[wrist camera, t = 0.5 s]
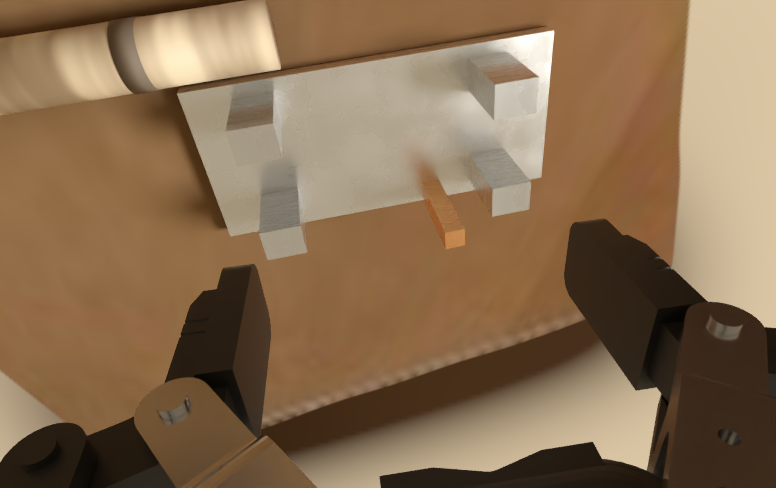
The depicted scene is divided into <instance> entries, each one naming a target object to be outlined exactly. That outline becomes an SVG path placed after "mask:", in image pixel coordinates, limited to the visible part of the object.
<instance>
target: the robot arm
mask: <svg viewBox="0 0 776 488" xmlns="http://www.w3.org/2000/svg"><path fill="white" fill-rule="evenodd" d="M564 278H565V285H566V289H567V291H568V294H569V296H570V297H571V299H572V300H573V301H574V303H575V304H576V306H577V307H578V309H579V310H580V311H581V313H582V314H583V316H584V317H585V319H586V320H587V321H588V323H589V324H590V326H591V327H592V329H593V330H594V331H595V333H596V334H597V336H598V337H599V338H600V340H601V341H602V343H603V344H604V346H605V347H606V348H607V350H608V351H609V353H610V354H611V356H612V357H613V358H614V360H615V361H616V363H617V364H618V366H619V367H620V368H621V370H622V371H623V372H624V374H625V376H626V377H627V378H628V380H629V381H630V383H631V384H632V385H633V387H634V388H635V390H642V389H649V388H655V387H657V388H658V390H659V391H660V392H661V396H660V400H659V403H658V408H657V414H656V420H655V426H654V431H653V438H652V444H651V450H650V456H649V462H648V467H647V471H646V470H644V469H641V468H638V467H636V466H633V465H629V464H626V463H623V462H617V461H613V460H607V459H602V458H601V456H600V455H599V453H598V451H597V449H596V447H595V445H594V444H593V442H589V443H583V444H576V445H570V446H564V447H558V448H552V449H545V450H541V451H538V452H536V453H534V454H532V455H529V456H527V457H525V458H523V459H520V460H518V461H516V462H514V463H512V464H509V465H507V466H505V467H503V468H500V469H498V470H495V471H492V472H482V471H469V470H457V469H444V468H428V469H421V470H415V471H409V472H403V473H396V474H390V475H384V476H380V484H381V488H776V328H767V327H764V326H763V325H762V323H761V322H760V321H759V320H758V319H757V318H756V317H754V316H753V315H752V314H750V313H748V312H746V311H745V310H742V309H740V308H738V307H735V306H732V305H729V304H724V303H718V302H708V301H706V300H705V299H704V298H703V297H702V296H701V295H700V294H699V293H698V292H697V291H696V290H695V289H694V288H692V286H691V285H689V284H688V283H687V282H686V281H685V280H684V279H683V278H682V277H681V276H680V275H679V274H678V273H677V272H676V271H674V270H673V269H672V270H671V268H670V266H669V265H668V264H667V263H666V262H665V261H664V260H663V259H660V256H659V255H657V254H656V253H655V252H654V251H653V250H652V249H651V248H650V247H649V246H648V245H647V244H645V243H643V242H641V241H639V240H637V239H635V238H633V237H631V236H629V235H622V234H621V233H620V232H619V231H618V230H617V229H616V228H615V227H614V226H613V225H612V224H611V223H610V222H609V221H607V220H606V219H597V220H589V221H582V222H575V223H573V224H572V226H571V229H570V234H569V242H568V249H567V257H566V264H565V272H564ZM270 340H271V326H270V318H269V313H268V309H267V305H266V301H265V297H264V293H263V290H262V286H261V282H260V278H259V274H258V271H257V268H256V266H255V265H254V264H250V265H243V266H235V267H227V268H223V269H222V272H221V276H220V279H219V283H218V287H217V289H215V290H208V291H203V292H202V293H201V294H200V296H199V297H198V298H197V299H196V300H195V301H194V302H193V303H192V304H191V305H190V308H189V311H188V314H187V317H186V320H185V324H184V326H183V329H182V332H181V337H180V338H179V341H178V344H177V347H176V350H175V353H174V356H173V359H172V362H171V365H170V368H169V371H168V374H167V377H166V380H165V383H164V384H162V385H160V386H158V387H156V388H155V389H153V390H152V391H151V392H150V393H148V394H147V395H146V396H145V397H144V398H143V399H142V401H141V402H140V403H139V405H138V407H137V409H136V411H135V414H134V417H132V418H130V419H128V420H126V421H124V422H121V423H119V424H116V425H114V426H111V427H109V428H106V429H104V430H101V431H98V432H96V433H93V434H91V435H88V436H87V435H86V434H85V432H84V430H83V429H82V428H81V427H80V426H78V425H76V424H73V423H57V424H53V425H50V426H46V427H44V428H41V429H39V430H37V431H35V432H33V433H32V434H30V435H28V436H26V437H25V438H24V439H22V440H21V441H19V442H18V443H17V444H16V445H15V446H14V447H13V448H12V449H11V450H10V451H9V452H8V453H7V454H6V455H5V456H4V458H3V459H2V461H1V462H0V488H317V487H316V486H315V485H314V484H313V483H312V482H311V481H310V480H309V479H308V478H307V477H306V476H305V474H304V473H303V472H302V471H301V470H300V469H299V468H298V467H297V466H296V465H295V464H294V463H293V462H292V461H291V460H290V459H289V458H288V457H287V455H286V454H285V453H284V452H283V451H282V450H281V449H280V448H279V447H278V446H277V445H276V444H275V443H274V442H273V441H272V440H271V439H270V438H269V437H267V436H266V435H262V436H260V433H261V423H262V414H263V405H264V396H265V386H266V377H267V368H268V358H269V349H270Z"/></svg>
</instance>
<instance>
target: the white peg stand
mask: <svg viewBox="0 0 776 488" xmlns="http://www.w3.org/2000/svg"><path fill="white" fill-rule="evenodd" d="M553 39H554V30H553V29H551V28H549V27H548V26H545V27H539V28H533V29H527V30H521V31H515V32H509V33H503V34H497V35H492V36H486V37H480V38H474V39H468V40H462V41H456V42H450V43H444V44H438V45H432V46H426V47H420V48H414V49H408V50H402V51H396V52H390V53H384V54H378V55H372V56H366V57H360V58H354V59H348V60H342V61H336V62H330V63H324V64H318V65H312V66H306V67H300V68H294V69H288V70H282V71H276V72H270V73H264V74H258V75H252V76H246V77H240V78H234V79H228V80H222V81H216V82H210V83H204V84H198V85H192V86H186V87H180V88H179V90H178V93H177V95H178V98H179V100H180V103H181V106H182V108H183V111H184V114H185V116H186V119H187V122H188V124H189V127H190V130H191V132H192V135H193V138H194V140H195V143H196V146H197V148H198V151H199V154H200V156H201V159H202V162H203V164H204V167H205V170H206V172H207V175H208V178H209V180H210V183H211V186H212V188H213V191H214V194H215V196H216V199H217V202H218V204H219V207H220V210H221V212H222V215H223V218H224V220H225V223H226V226H227V228H228V231H229V234H230V236H235V235H240V234H246V233H251V232H256V231H259V235H260V238H261V241H262V244H263V247H264V250H265V253H266V256H267V259H268V260H271V259H276V258H282V257H287V256H292V255H297V254H302V253H307V242H306V230H305V222H309V221H314V220H319V219H325V218H330V217H335V216H340V215H346V214H351V213H356V212H362V211H367V210H372V209H377V208H383V207H388V206H393V205H398V204H404V203H409V202H414V201H419V200H424V201H425V203H426V206H427V208H428V210H429V212H430V215H431V217H432V219H433V221H434V224H435V226H436V228H437V230H438V233H439V235H440V237H441V239H442V242H443V244H444V246H445V249H448V248H453V247H458V246H463V245H465V229H464V227H463V225H462V223H461V221H460V219H459V217H458V215H457V213H456V211H455V209H454V208H453V206H452V204H451V202H450V200H449V198H448V196H447V195H451V194H456V193H462V192H467V191H472V190H476V191H477V193H478V195H479V196H480V198H481V200H482V201H483V203H484V204H485V206H486V208H487V209H488V211H489V213H490V214H491V216H492V217H493V216H498V215H503V214H508V213H513V212H518V211H523V210H529V203H530V190H531V181H530V179H535V178H541V173H542V161H543V150H544V139H545V128H546V117H547V106H548V95H549V83H550V72H551V61H552V50H553Z"/></svg>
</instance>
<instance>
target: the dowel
mask: <svg viewBox="0 0 776 488" xmlns="http://www.w3.org/2000/svg"><path fill="white" fill-rule="evenodd" d="M280 69H281V62H280V55H279V50H278V45H277V40H276V35H275V31H274V26H273V22H272V18H271V14H270V10H269V7H268V3H267V0H246V1H239V2H233V3H226V4H220V5H213V6H207V7H200V8H194V9H187V10H181V11H174V12H168V13H161V14H155V15H148V16H142V17H139V16H134V17H128V18H121V19H115V20H110V21H109V22H103V23H96V24H90V25H83V26H77V27H70V28H64V29H57V30H51V31H44V32H38V33H31V34H25V35H18V36H12V37H5V38H0V115H6V114H12V113H18V112H24V111H30V110H36V109H43V108H49V107H55V106H61V105H67V104H73V103H79V102H85V101H91V100H97V99H103V98H109V97H115V96H122V95H128V94H140V93H146V92H152V91H158V90H161V89H164V88H170V87H176V86H182V85H188V84H194V83H201V82H207V81H213V80H219V79H225V78H231V77H237V76H243V75H249V74H255V73H261V72H267V71H273V70H280Z"/></svg>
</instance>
